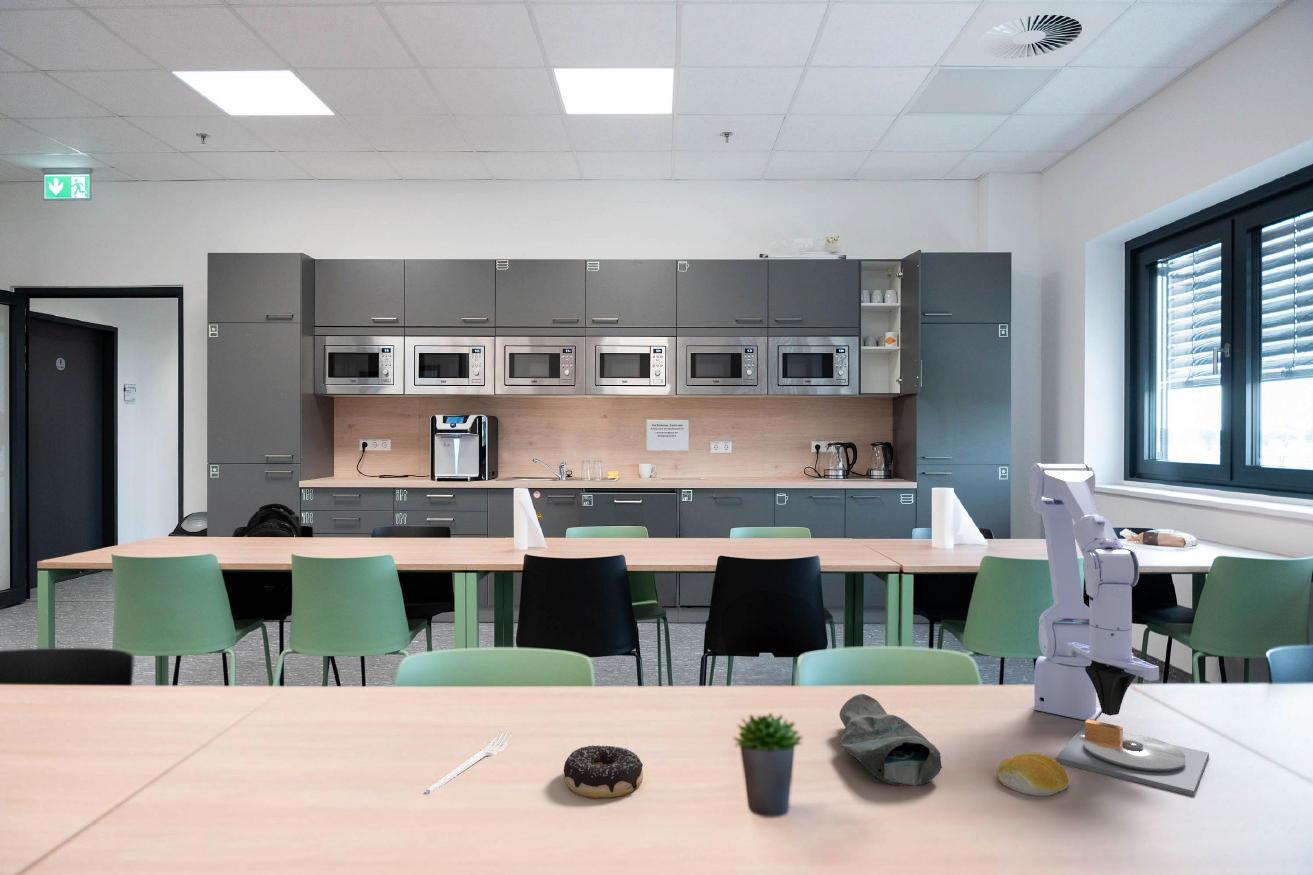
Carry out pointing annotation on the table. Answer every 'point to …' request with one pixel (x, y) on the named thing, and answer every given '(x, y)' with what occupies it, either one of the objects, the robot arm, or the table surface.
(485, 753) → the fork
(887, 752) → the crumpled grey pouch
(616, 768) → the donut
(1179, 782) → the base plate
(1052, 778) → the bread roll
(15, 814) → the table surface
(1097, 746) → the handwheel
